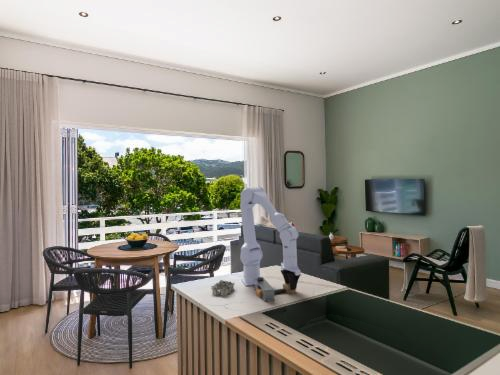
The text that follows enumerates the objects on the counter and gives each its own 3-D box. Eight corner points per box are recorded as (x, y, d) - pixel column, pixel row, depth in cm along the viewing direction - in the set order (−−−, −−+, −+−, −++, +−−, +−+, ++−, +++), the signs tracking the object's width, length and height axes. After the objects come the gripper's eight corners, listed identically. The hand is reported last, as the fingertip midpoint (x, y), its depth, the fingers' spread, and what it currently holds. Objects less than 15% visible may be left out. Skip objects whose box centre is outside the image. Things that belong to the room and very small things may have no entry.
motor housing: (255, 289, 150) (254, 276, 150) (263, 288, 151) (263, 275, 150) (264, 301, 134) (264, 287, 134) (274, 300, 135) (274, 286, 135)
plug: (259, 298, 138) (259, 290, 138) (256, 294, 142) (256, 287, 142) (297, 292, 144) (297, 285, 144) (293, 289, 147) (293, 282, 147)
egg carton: (225, 297, 142) (225, 287, 142) (209, 295, 145) (209, 285, 145) (236, 288, 152) (236, 279, 152) (221, 287, 155) (220, 278, 154)
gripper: (274, 253, 150) (275, 284, 150) (288, 260, 136) (290, 294, 137) (288, 251, 152) (289, 282, 153) (304, 258, 139) (305, 292, 139)
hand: (291, 288), depth 145 cm, fingers closed on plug, 4 cm apart
